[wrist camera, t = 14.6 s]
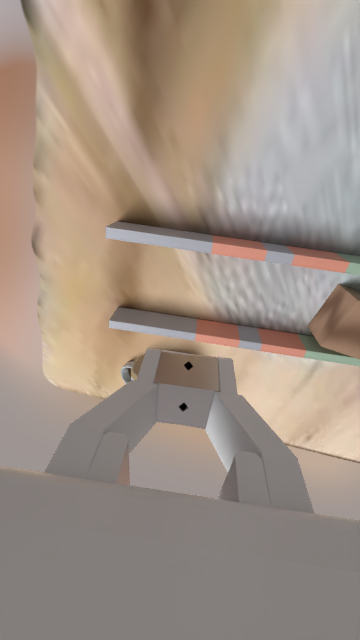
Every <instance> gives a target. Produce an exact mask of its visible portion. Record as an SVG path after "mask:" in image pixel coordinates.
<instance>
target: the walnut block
mask: <svg viewBox="0 0 360 640" xmlns="http://www.w3.org/2000/svg"><path fill="white" fill-rule="evenodd" d="M308 328H309V329H310V331H311V332H312V334H313V335H314V337H315V338H316V340H317V341H318V343H319V345H320V346H321V347H324V348H327V349H330V350H333V351H336V352H339V353H342V354H345V355H348V356H351V357H354V358H357V359H360V292H359V291H356V290H353V289H351V288H348V287H345V286H342V285H340V284H338V285H337V286H336V288H335V289H334V291H333V292H332V293H331V295H330V296H329V297H328V299H327V300H326V302H325V303H324V304H323V306H322V307H321V308H320V310H319V311H318V313H317V314H316V315H315V317H314V318H313V319H312V321H311V322H310V324H309V325H308Z"/></svg>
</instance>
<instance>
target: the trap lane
mask: <svg viewBox="0 0 360 640" xmlns="http://www.w3.org/2000/svg"><path fill="white" fill-rule="evenodd" d="M106 238H108V239H115V240H122V241H129V242H136V243H143V244H150V245H156V246H163V247H170V248H177V249H184V250H191V251H198V252H204V253H211V254H218V255H225V256H232V257H239V258H246V259H253V260H259V261H266V262H273V263H280V264H287V265H294V266H301V267H307V268H314V269H321V270H328V271H335V272H342V273H349V274H355V275H360V256H355V255H348V254H341V253H334V252H327V251H320V250H313V249H306V248H299V247H292V246H286V245H279V244H272V243H265V242H258V241H251V240H244V239H237V238H230V237H223V236H216V235H209V234H202V233H195V232H188V231H182V230H175V229H168V228H161V227H154V226H147V225H140V224H133V223H126V222H119V221H116V222H114V223H112V224H111V225H109V226H107V227H106ZM109 328H114V329H121V330H127V331H134V332H140V333H147V334H153V335H160V336H166V337H173V338H179V339H186V340H193V341H199V342H206V343H212V344H219V345H225V346H232V347H238V348H245V349H251V350H258V351H264V352H271V353H277V354H284V355H290V356H297V357H303V358H310V359H316V360H323V361H329V362H336V363H342V364H349V365H355V366H360V359H357V358H354V357H351V356H348V355H345V354H342V353H339V352H336V351H333V350H330V349H327V348H324V347H321V346H320V345H319V343H318V341H317V340H316V338H315V337H314V336H307V335H301V334H294V333H287V332H281V331H274V330H268V329H261V328H254V327H248V326H241V325H235V324H228V323H221V322H215V321H208V320H202V319H195V318H188V317H182V316H175V315H169V314H162V313H155V312H149V311H142V310H136V309H129V308H122V307H118V308H117V309H116V311H115V312H114V314H113V315H112V317H111V318H110V320H109Z"/></svg>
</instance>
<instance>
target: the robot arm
mask: <svg viewBox="0 0 360 640" xmlns="http://www.w3.org/2000/svg"><path fill="white" fill-rule="evenodd" d="M156 422H162V423H170V424H180V425H185V426H191V427H197V428H203V429H206V432H207V434H208V436H209V438H210V440H211V442H212V444H213V445H214V447H215V449H216V451H217V453H218V455H219V457H220V458H221V460H222V463H223V464H224V466H225V468H226V470H227V472H228V474H227V476H226V479H225V481H224V484H223V486H222V489H221V491H220V494H219V496H218V499H215V498H209V497H202V496H196V495H189V494H183V493H176V492H169V491H162V490H156V489H150V488H142V487H135V486H130V481H129V479H130V478H129V453H130V452H131V451H132V450H133V448H134V447H135V446H136V445H137V444H138V443H139V442H140V440H141V439H142V438H143V437H144V436H145V435H146V434H147V433H148V431H149V430H150V429H151V428H152V427H153V426H154V424H155V423H156ZM0 640H360V520H353V519H347V518H340V517H333V516H327V515H320V514H314V511H313V508H312V505H311V501H310V498H309V495H308V491H307V488H306V485H305V482H304V479H303V475H302V472H301V469H300V465H299V462H298V459H297V457H296V456H295V455H294V454H293V453H292V452H291V450H290V449H289V448H288V447H287V446H286V445H285V444H284V443H283V441H282V440H281V439H280V438H279V437H278V436H277V435H276V433H275V432H274V431H273V430H272V429H271V428H270V427H269V426H268V424H267V423H266V422H265V421H264V420H263V419H262V418H261V416H260V415H259V414H258V413H257V412H256V411H255V410H254V409H253V407H252V406H251V405H250V404H249V403H248V402H247V401H246V399H245V398H244V397H243V396H242V395H237V388H236V380H235V373H234V366H233V360H232V359H230V358H221V357H210V356H202V355H194V354H188V353H181V352H175V351H169V350H161V349H155V348H148V349H147V350H146V353H145V356H144V359H143V362H142V365H141V368H140V371H139V374H138V377H137V380H136V381H135V380H131V381H130V382H128V383H127V384H126V385H124V386H123V387H122V388H120V389H119V390H117V391H116V392H115V393H113V394H112V395H110V396H109V397H108V398H106V399H105V400H103V401H102V402H101V403H99V404H98V405H96V406H95V407H94V408H92V409H91V410H89V411H88V412H87V413H85V414H84V415H82V416H81V417H80V418H78V419H77V420H75V421H74V422H73V423H71V424H70V425H69V427H68V429H67V431H66V433H65V435H64V437H63V438H62V440H61V442H60V444H59V446H58V448H57V450H56V451H55V453H54V455H53V457H52V459H51V461H50V463H49V464H48V466H47V468H46V470H45V472H37V471H30V470H24V469H17V468H11V467H4V466H0Z"/></svg>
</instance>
